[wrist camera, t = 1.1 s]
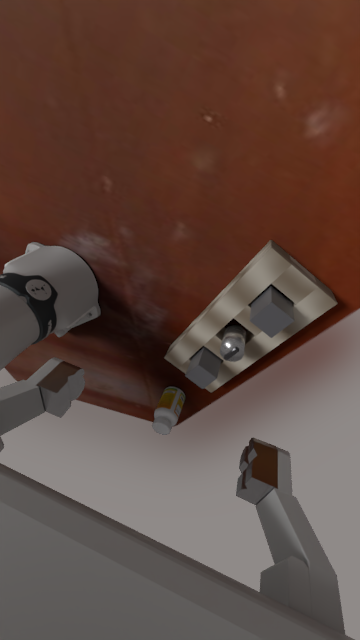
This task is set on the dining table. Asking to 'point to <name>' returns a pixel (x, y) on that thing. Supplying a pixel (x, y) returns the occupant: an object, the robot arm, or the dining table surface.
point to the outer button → (271, 312)
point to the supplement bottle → (168, 410)
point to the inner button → (203, 368)
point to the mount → (236, 303)
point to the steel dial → (233, 343)
